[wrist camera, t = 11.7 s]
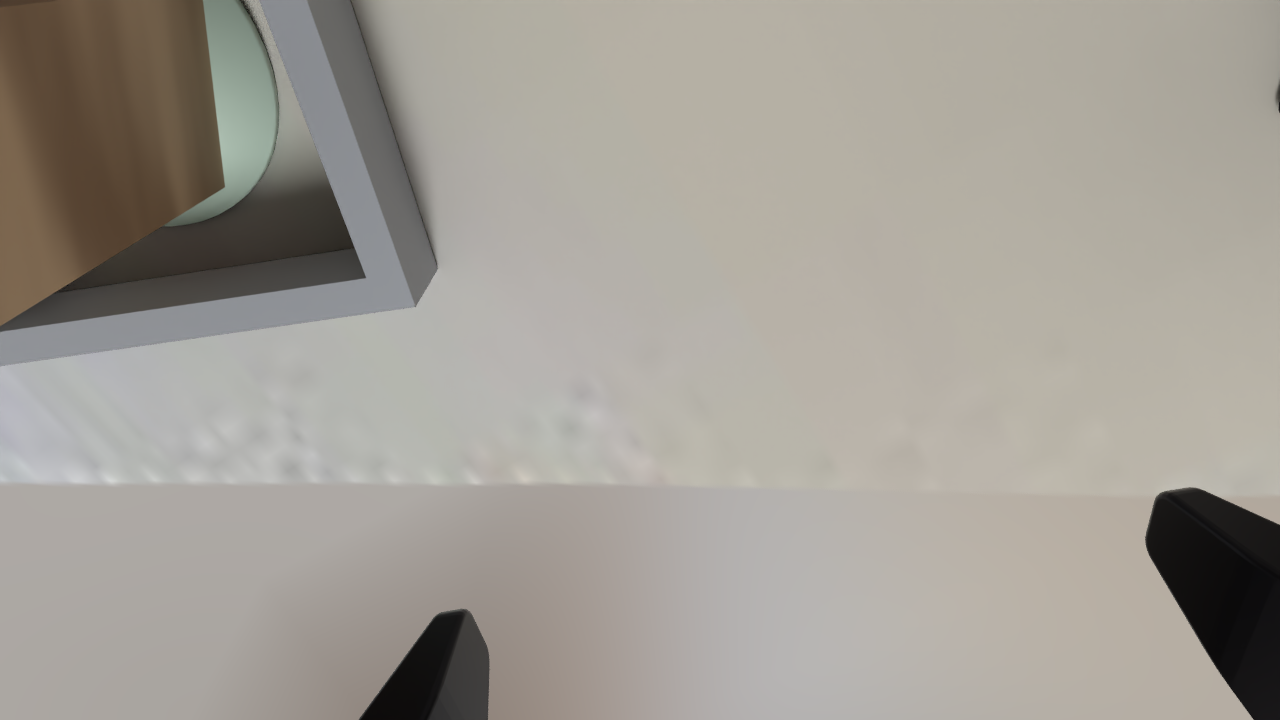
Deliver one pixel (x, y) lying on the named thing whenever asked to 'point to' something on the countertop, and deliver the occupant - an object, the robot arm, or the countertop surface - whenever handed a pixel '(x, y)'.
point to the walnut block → (98, 134)
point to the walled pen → (248, 126)
